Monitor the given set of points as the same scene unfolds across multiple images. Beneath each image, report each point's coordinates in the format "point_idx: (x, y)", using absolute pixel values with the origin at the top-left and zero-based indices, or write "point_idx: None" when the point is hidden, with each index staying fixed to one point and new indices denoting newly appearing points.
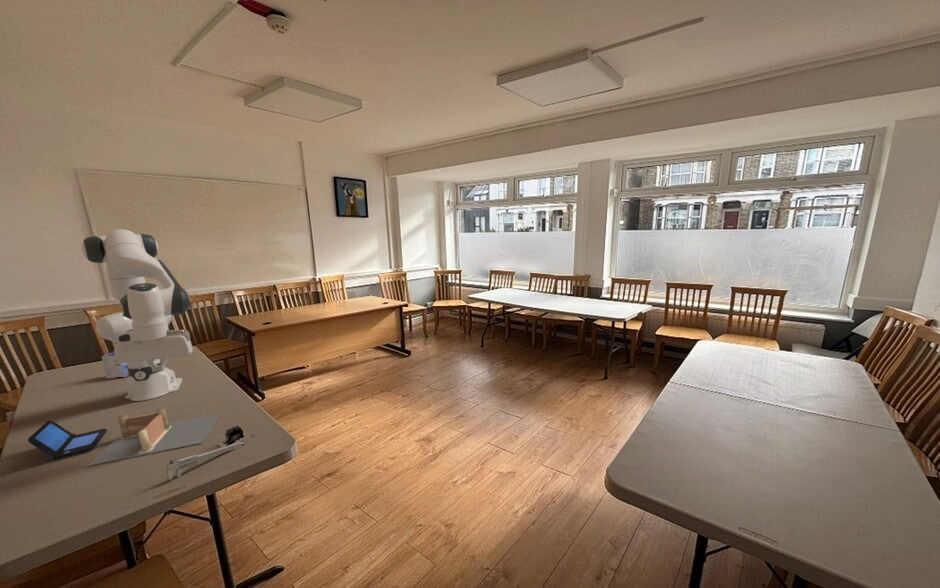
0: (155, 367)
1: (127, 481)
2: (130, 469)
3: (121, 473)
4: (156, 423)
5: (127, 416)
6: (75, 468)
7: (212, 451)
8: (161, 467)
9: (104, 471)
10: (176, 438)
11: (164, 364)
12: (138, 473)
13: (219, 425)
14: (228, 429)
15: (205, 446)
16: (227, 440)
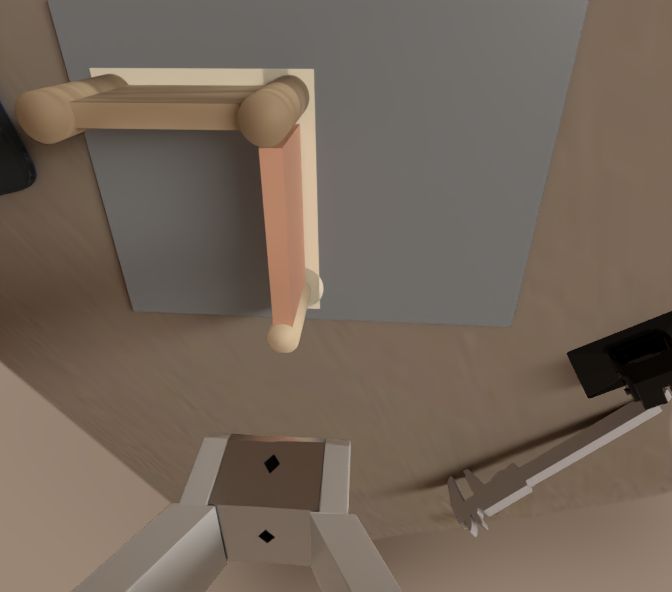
0: (249, 556)
1: (330, 438)
2: (305, 384)
3: (288, 394)
4: (290, 221)
5: (67, 118)
6: (94, 300)
7: (571, 459)
8: (403, 412)
9: (221, 361)
10: (392, 241)
11: (358, 539)
12: (343, 414)
13: (576, 175)
14: (645, 380)
15: (525, 349)
16: (613, 364)
